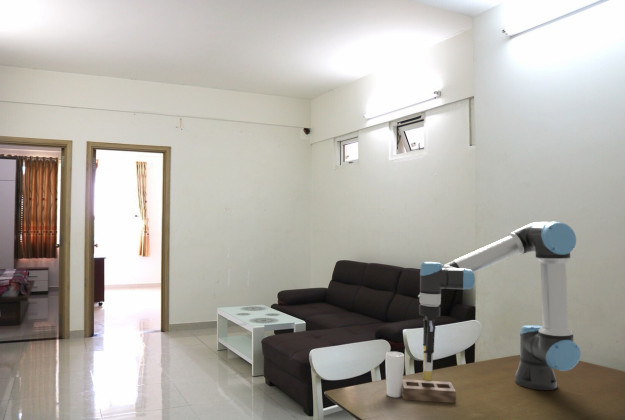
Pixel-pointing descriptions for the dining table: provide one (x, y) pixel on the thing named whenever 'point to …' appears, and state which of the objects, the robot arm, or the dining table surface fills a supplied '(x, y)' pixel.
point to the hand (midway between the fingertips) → (427, 369)
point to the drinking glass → (394, 373)
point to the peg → (426, 374)
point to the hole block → (428, 391)
